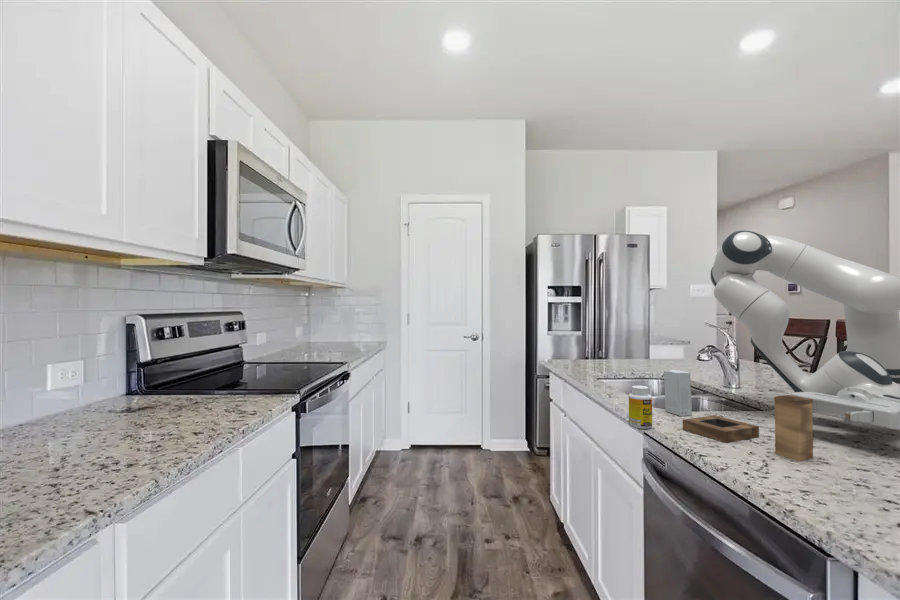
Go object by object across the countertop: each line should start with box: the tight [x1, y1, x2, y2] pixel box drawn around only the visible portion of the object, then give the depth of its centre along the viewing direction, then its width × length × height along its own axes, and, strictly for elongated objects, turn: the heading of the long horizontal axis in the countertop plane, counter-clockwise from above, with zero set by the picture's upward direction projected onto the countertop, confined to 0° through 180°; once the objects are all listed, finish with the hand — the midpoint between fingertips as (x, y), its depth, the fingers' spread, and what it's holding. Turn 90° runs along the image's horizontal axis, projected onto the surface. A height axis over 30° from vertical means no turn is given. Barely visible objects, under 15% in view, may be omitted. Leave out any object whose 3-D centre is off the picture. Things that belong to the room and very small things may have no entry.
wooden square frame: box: [682, 414, 760, 443], centre depth 108 cm, size 11×11×2 cm
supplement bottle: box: [628, 385, 653, 430], centre depth 114 cm, size 6×6×10 cm
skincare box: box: [663, 369, 693, 417], centre depth 127 cm, size 6×4×12 cm
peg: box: [773, 394, 814, 462], centre depth 92 cm, size 5×5×12 cm
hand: (822, 411), depth 97 cm, fingers open, 8 cm apart
